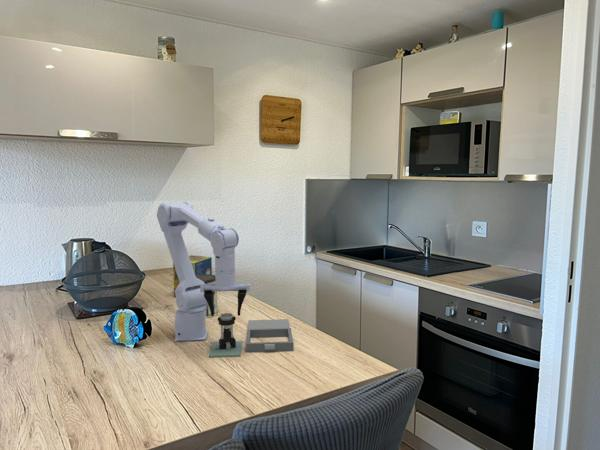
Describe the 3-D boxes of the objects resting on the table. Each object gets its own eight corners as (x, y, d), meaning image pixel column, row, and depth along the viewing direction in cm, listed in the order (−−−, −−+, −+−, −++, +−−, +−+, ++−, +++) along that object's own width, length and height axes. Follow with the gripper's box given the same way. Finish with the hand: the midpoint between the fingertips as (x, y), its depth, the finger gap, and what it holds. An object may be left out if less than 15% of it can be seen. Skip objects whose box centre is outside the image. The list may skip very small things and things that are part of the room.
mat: (208, 357, 131) (208, 355, 131) (212, 343, 142) (212, 341, 141) (240, 356, 131) (240, 354, 131) (242, 342, 142) (241, 340, 142)
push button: (215, 352, 133) (215, 319, 132) (211, 346, 138) (211, 314, 137) (238, 349, 135) (237, 316, 134) (233, 343, 140) (232, 311, 139)
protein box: (173, 297, 194) (172, 261, 193) (192, 288, 209) (191, 255, 207) (195, 299, 191) (194, 262, 190) (212, 290, 206) (212, 256, 204)
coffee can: (194, 309, 177) (193, 273, 175) (220, 310, 176) (220, 274, 174) (185, 317, 167) (184, 280, 165) (213, 318, 166) (212, 280, 164)
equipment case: (245, 353, 134) (245, 345, 133) (248, 323, 160) (248, 316, 160) (293, 351, 135) (293, 343, 135) (288, 322, 161) (288, 315, 161)
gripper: (198, 273, 130) (199, 319, 132) (249, 272, 131) (250, 318, 133) (201, 268, 137) (202, 312, 139) (250, 267, 138) (250, 311, 140)
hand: (225, 314), depth 136 cm, fingers open, 7 cm apart
